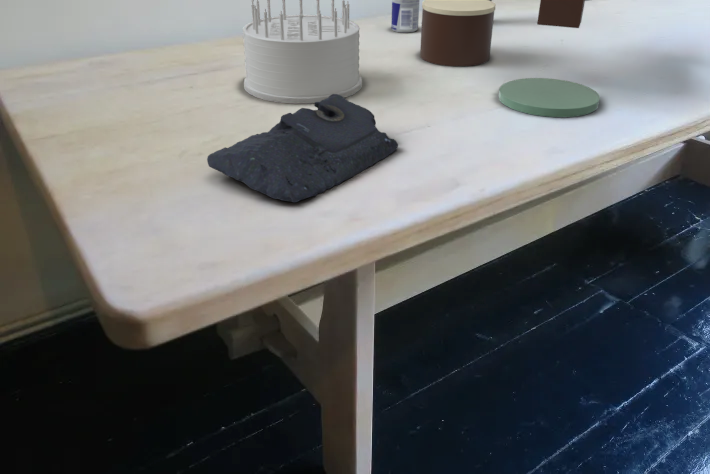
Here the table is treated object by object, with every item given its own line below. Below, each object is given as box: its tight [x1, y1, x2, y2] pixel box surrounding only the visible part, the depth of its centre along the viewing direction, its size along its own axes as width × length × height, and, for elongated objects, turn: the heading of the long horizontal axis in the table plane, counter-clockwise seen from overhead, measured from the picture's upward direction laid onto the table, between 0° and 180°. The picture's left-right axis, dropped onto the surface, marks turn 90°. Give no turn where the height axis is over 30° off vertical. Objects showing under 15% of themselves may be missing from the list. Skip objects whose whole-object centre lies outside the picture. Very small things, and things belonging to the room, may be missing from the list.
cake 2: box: [419, 0, 496, 67], centre depth 114 cm, size 12×12×9 cm
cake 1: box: [242, 0, 363, 105], centre depth 99 cm, size 18×18×13 cm
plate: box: [498, 77, 601, 118], centre depth 95 cm, size 14×14×1 cm
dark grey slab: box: [206, 94, 399, 203], centre depth 76 cm, size 15×22×5 cm
